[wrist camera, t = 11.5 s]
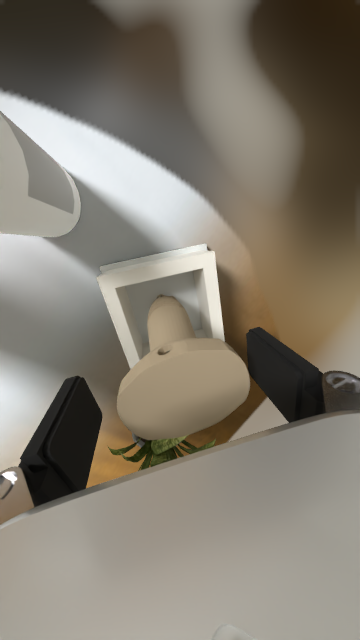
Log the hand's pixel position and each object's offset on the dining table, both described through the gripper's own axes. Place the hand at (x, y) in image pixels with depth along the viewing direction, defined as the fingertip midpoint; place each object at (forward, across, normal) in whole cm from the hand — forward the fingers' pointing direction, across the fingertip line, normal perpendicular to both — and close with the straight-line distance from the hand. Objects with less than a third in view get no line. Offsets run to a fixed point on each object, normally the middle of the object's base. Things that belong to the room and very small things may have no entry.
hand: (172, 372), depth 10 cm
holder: (+14, -1, 0) cm, 14 cm away
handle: (+13, -1, 0) cm, 13 cm away
